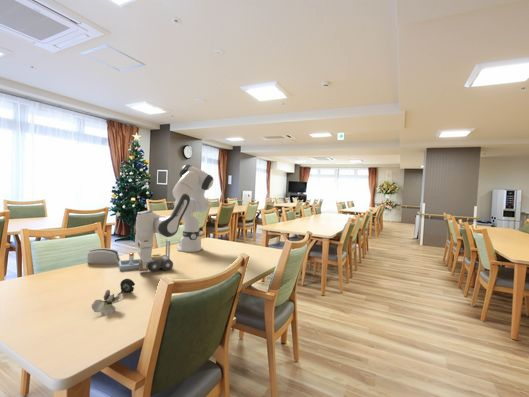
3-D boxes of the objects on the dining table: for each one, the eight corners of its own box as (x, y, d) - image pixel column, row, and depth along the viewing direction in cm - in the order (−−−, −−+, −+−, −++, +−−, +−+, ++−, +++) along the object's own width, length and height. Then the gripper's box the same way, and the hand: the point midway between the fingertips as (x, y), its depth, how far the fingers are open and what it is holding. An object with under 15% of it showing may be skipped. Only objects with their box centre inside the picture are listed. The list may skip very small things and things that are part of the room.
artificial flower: (138, 295, 119) (144, 275, 117) (105, 327, 97) (111, 303, 95) (119, 288, 119) (125, 268, 118) (82, 319, 97) (87, 295, 95)
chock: (138, 268, 146) (138, 260, 146) (146, 268, 148) (146, 259, 148) (139, 271, 142) (140, 263, 141) (147, 270, 144) (148, 262, 143)
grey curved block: (121, 261, 164) (119, 247, 160) (118, 265, 159) (116, 251, 155) (91, 260, 161) (88, 246, 157) (87, 265, 157) (85, 251, 153)
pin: (128, 265, 154) (129, 252, 154) (133, 264, 155) (133, 252, 155) (129, 266, 152) (129, 253, 152) (133, 266, 153) (134, 253, 153)
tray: (118, 265, 156) (118, 260, 155) (141, 262, 162) (141, 258, 162) (119, 271, 145) (119, 266, 145) (143, 268, 152) (144, 264, 152)
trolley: (148, 272, 145) (149, 243, 144) (145, 266, 155) (146, 239, 154) (173, 270, 152) (174, 241, 151) (168, 264, 162) (169, 238, 161)
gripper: (135, 237, 151) (134, 262, 152) (140, 245, 134) (139, 272, 134) (147, 237, 155) (146, 261, 155) (153, 244, 137) (153, 271, 138)
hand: (143, 266), depth 145 cm, fingers closed on chock, 5 cm apart
